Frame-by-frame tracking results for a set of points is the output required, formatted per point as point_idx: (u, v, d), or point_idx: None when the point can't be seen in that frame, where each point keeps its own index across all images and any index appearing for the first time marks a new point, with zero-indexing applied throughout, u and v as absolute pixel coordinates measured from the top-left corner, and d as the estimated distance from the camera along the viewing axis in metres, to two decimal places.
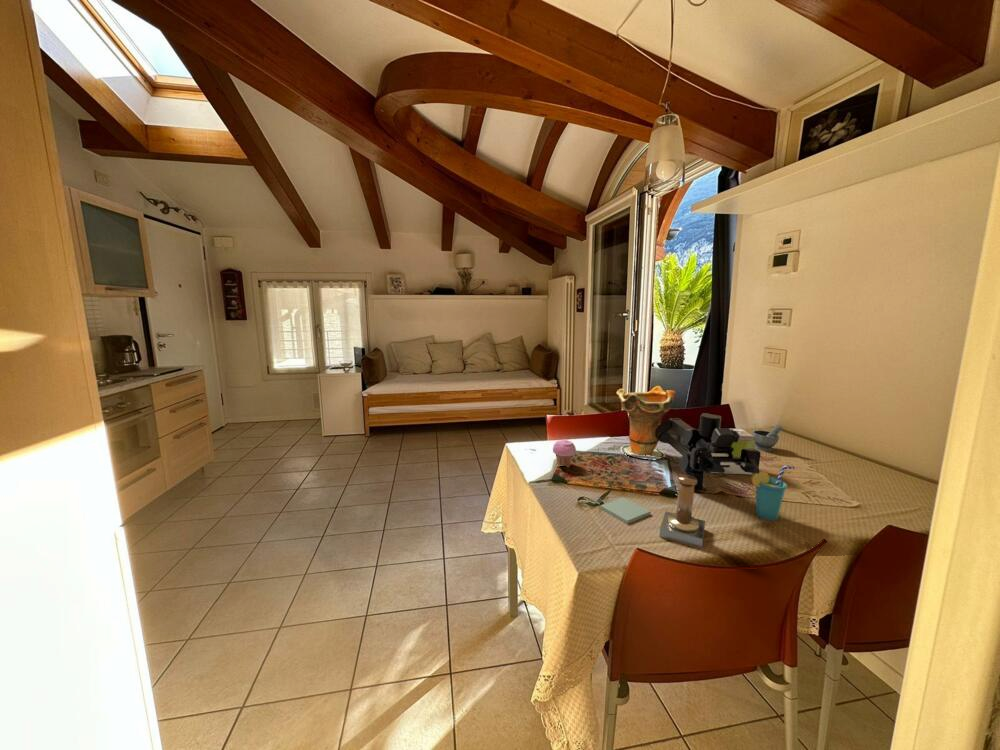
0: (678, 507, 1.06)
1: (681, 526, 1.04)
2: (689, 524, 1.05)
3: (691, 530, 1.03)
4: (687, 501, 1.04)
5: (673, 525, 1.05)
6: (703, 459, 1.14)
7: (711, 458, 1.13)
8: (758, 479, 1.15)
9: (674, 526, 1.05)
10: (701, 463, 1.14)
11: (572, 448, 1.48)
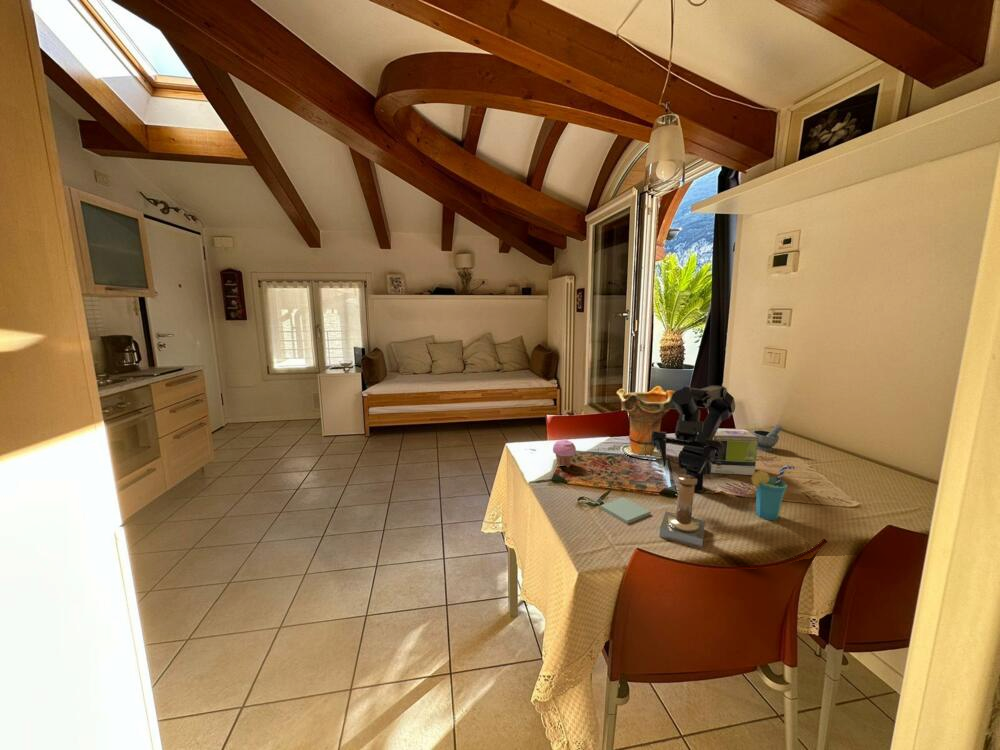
0: (678, 507, 1.06)
1: (681, 526, 1.04)
2: (689, 524, 1.05)
3: (691, 530, 1.03)
4: (687, 501, 1.04)
5: (673, 525, 1.05)
6: (658, 444, 1.22)
7: (663, 447, 1.20)
8: (758, 479, 1.15)
9: (674, 526, 1.05)
10: (657, 445, 1.23)
11: (572, 448, 1.48)
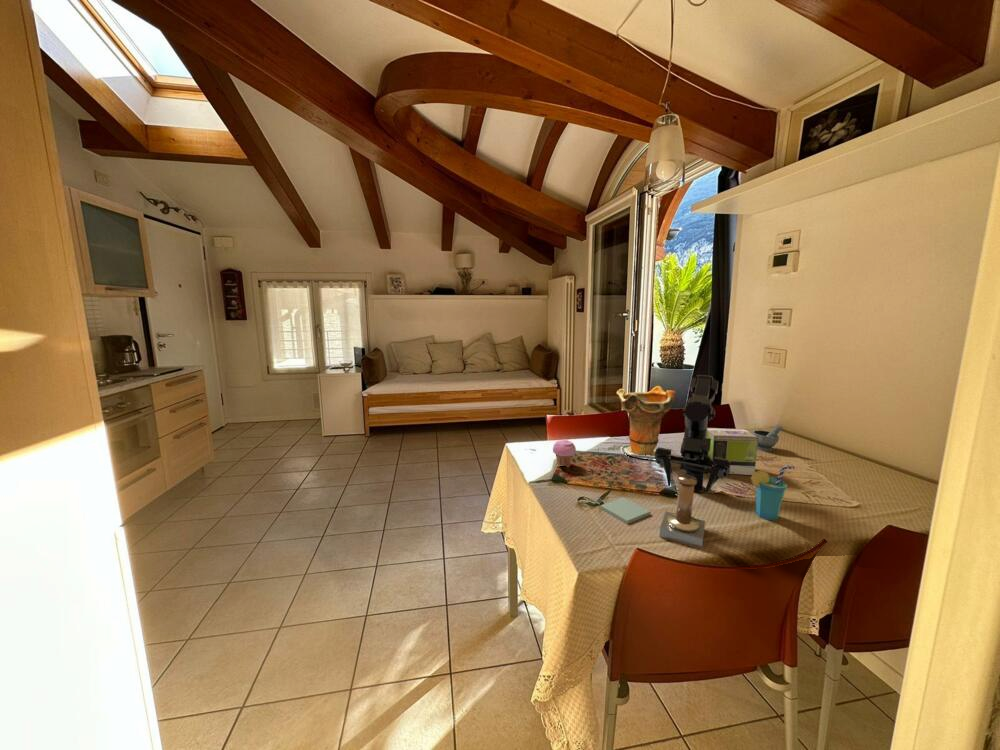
0: (678, 507, 1.06)
1: (681, 526, 1.04)
2: (689, 524, 1.05)
3: (691, 530, 1.03)
4: (687, 500, 1.04)
5: (673, 525, 1.05)
6: (662, 461, 1.15)
7: (667, 466, 1.13)
8: (758, 479, 1.15)
9: (674, 526, 1.05)
10: (661, 463, 1.16)
11: (572, 448, 1.48)
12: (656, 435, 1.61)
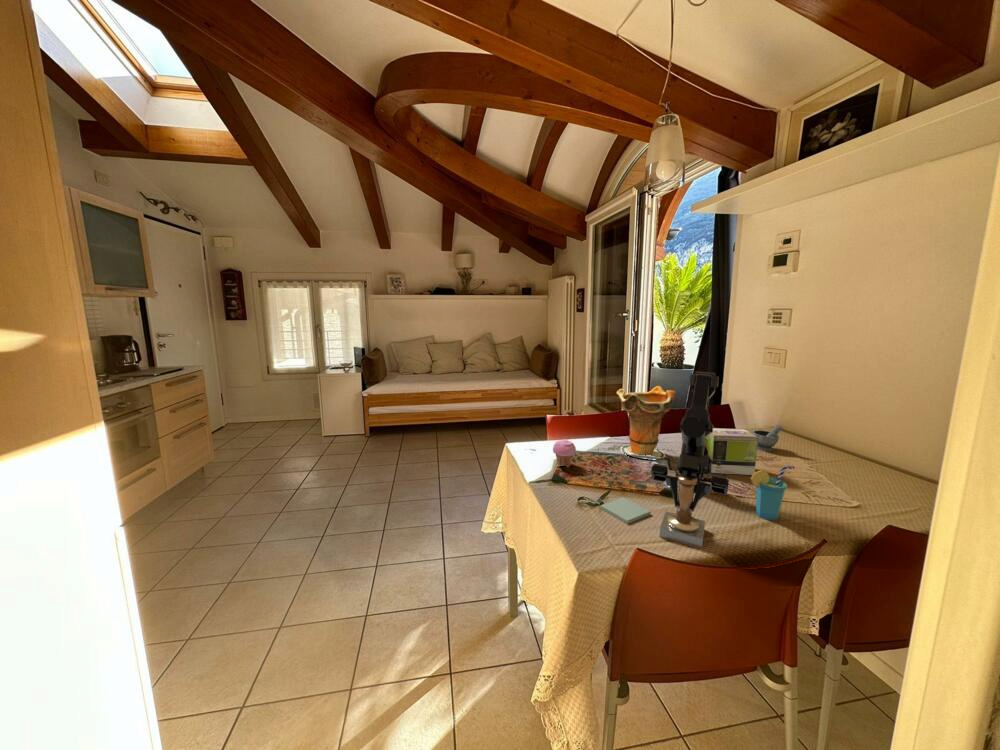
0: (678, 507, 1.06)
1: (681, 526, 1.04)
2: (689, 524, 1.05)
3: (691, 530, 1.03)
4: (687, 501, 1.04)
5: (673, 525, 1.05)
6: (669, 480, 1.09)
7: (674, 485, 1.07)
8: (758, 479, 1.15)
9: (674, 526, 1.05)
10: (668, 482, 1.11)
11: (572, 448, 1.48)
12: (656, 435, 1.61)
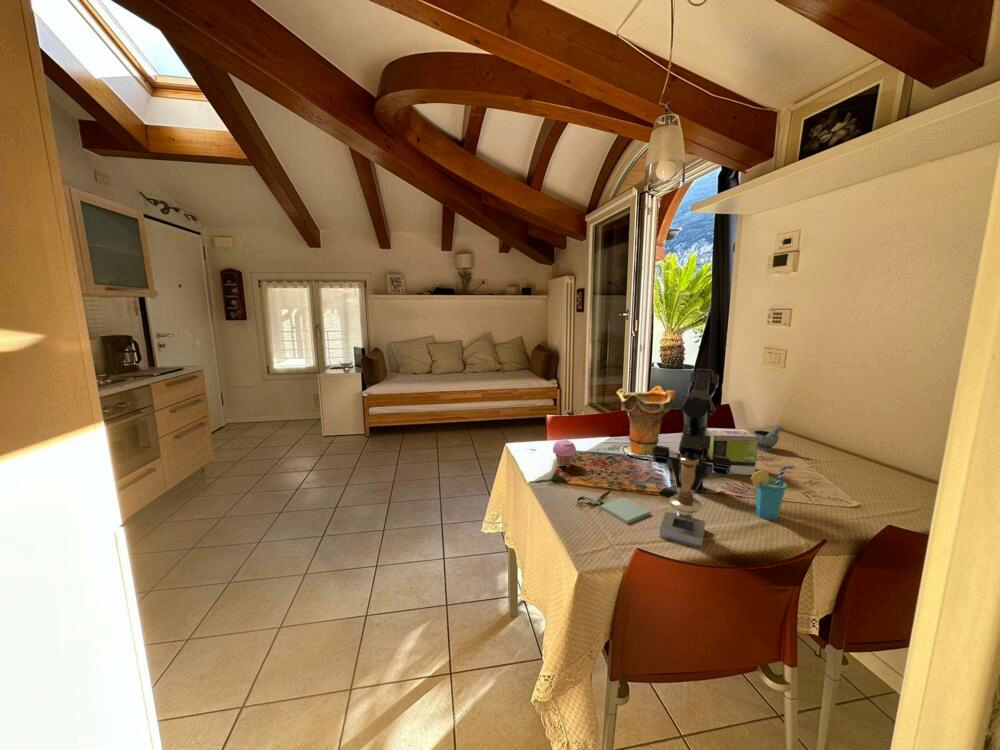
0: (680, 488, 1.05)
1: (683, 507, 1.03)
2: (691, 505, 1.04)
3: (693, 511, 1.02)
4: (689, 481, 1.03)
5: (675, 506, 1.04)
6: (670, 462, 1.09)
7: (676, 466, 1.07)
8: (758, 478, 1.15)
9: (676, 507, 1.04)
10: (669, 464, 1.10)
11: (572, 448, 1.48)
12: (656, 435, 1.61)
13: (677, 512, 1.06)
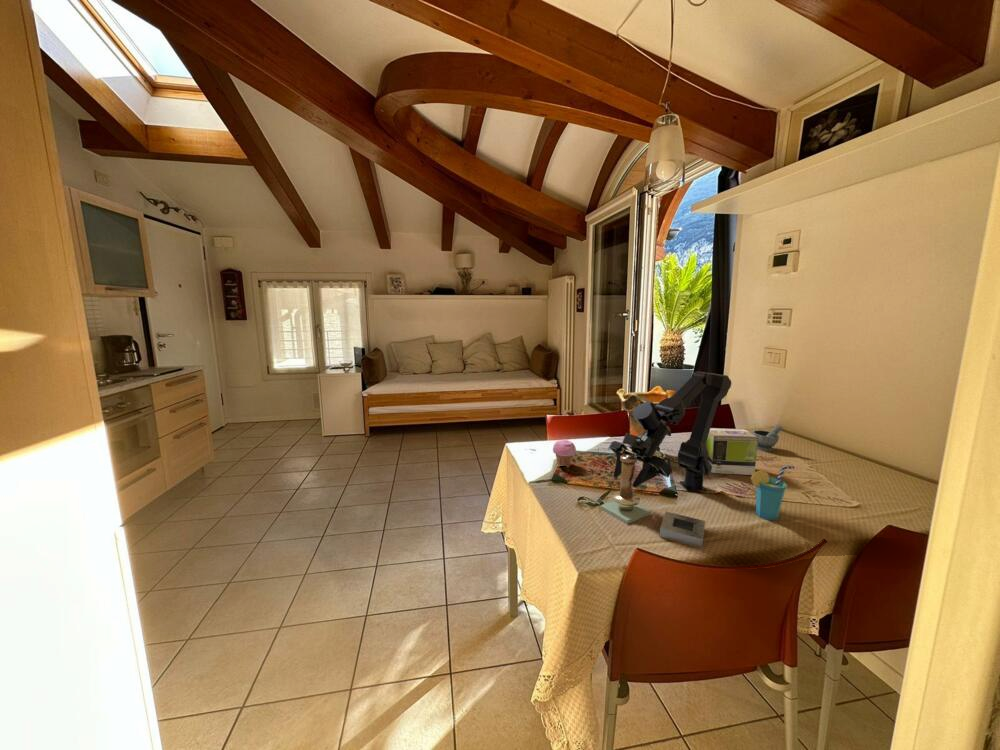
0: (620, 483, 1.18)
1: (617, 499, 1.16)
2: (626, 499, 1.16)
3: (624, 503, 1.14)
4: (625, 477, 1.15)
5: (613, 497, 1.18)
6: None
7: (618, 459, 1.20)
8: (758, 479, 1.15)
9: (613, 498, 1.17)
10: None
11: (572, 448, 1.48)
12: None
13: (618, 504, 1.19)
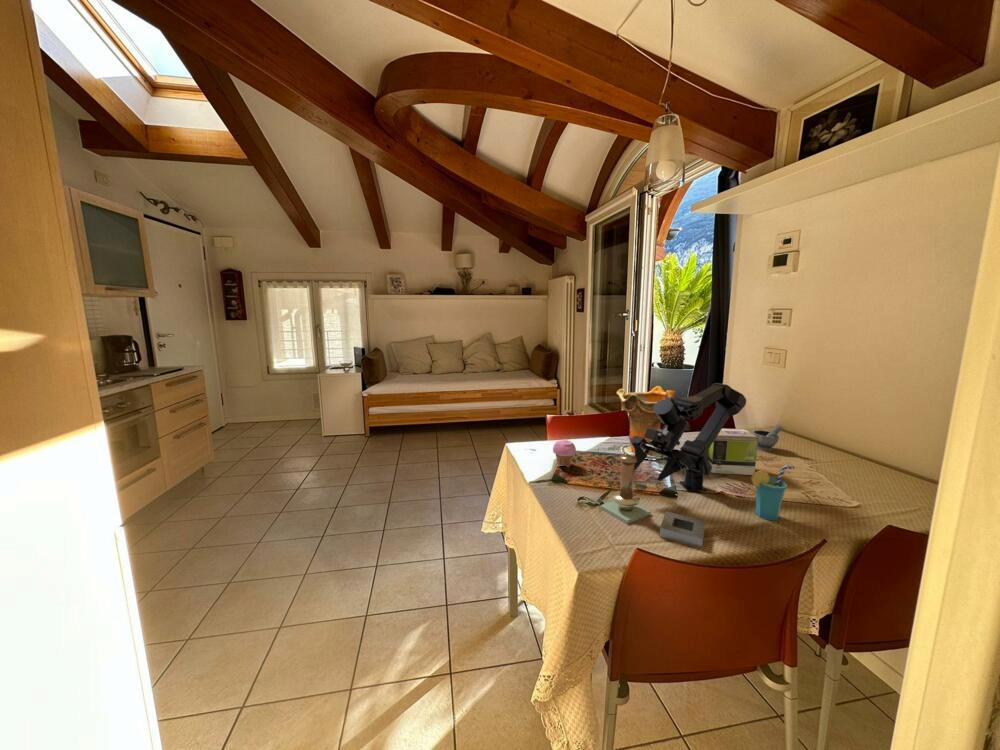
0: (620, 483, 1.18)
1: (617, 499, 1.16)
2: (626, 499, 1.16)
3: (624, 504, 1.14)
4: (625, 477, 1.15)
5: (613, 497, 1.18)
6: None
7: (637, 452, 1.26)
8: (758, 479, 1.15)
9: (613, 498, 1.17)
10: None
11: (572, 448, 1.48)
12: None
13: (618, 504, 1.19)
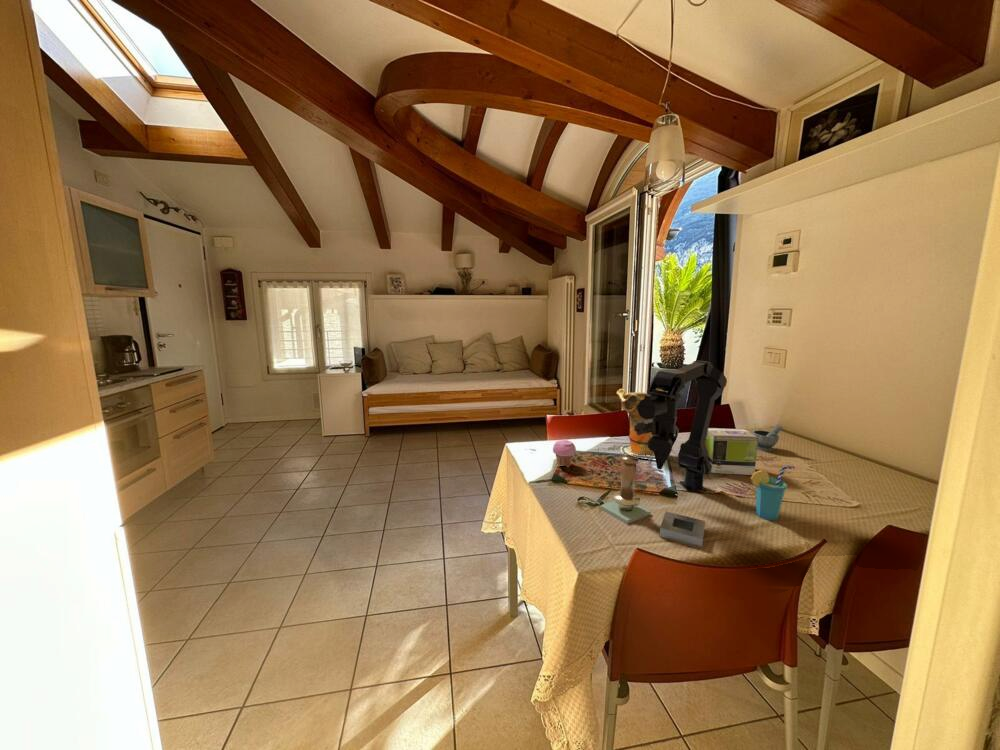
0: (621, 483, 1.17)
1: (617, 499, 1.16)
2: (627, 500, 1.15)
3: (624, 504, 1.14)
4: (626, 477, 1.15)
5: (613, 497, 1.18)
6: None
7: None
8: (758, 479, 1.15)
9: (613, 498, 1.17)
10: None
11: (572, 448, 1.48)
12: None
13: (618, 505, 1.19)
